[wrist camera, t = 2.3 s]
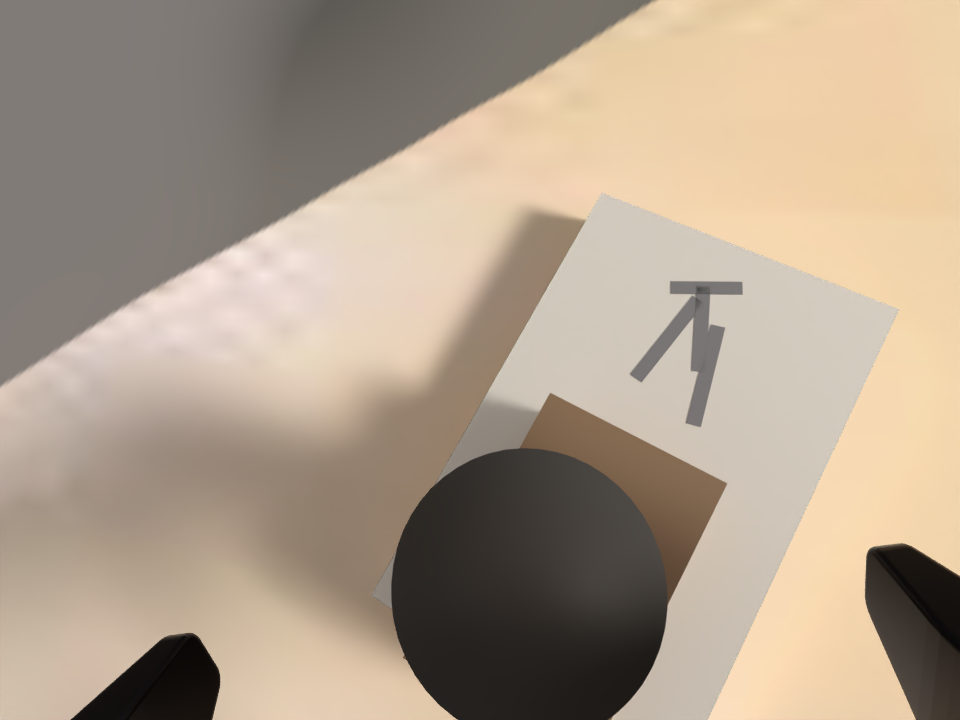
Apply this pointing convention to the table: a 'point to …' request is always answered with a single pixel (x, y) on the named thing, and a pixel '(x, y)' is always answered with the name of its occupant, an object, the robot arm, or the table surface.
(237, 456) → the table surface
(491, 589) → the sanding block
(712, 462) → the board
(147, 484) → the table surface
